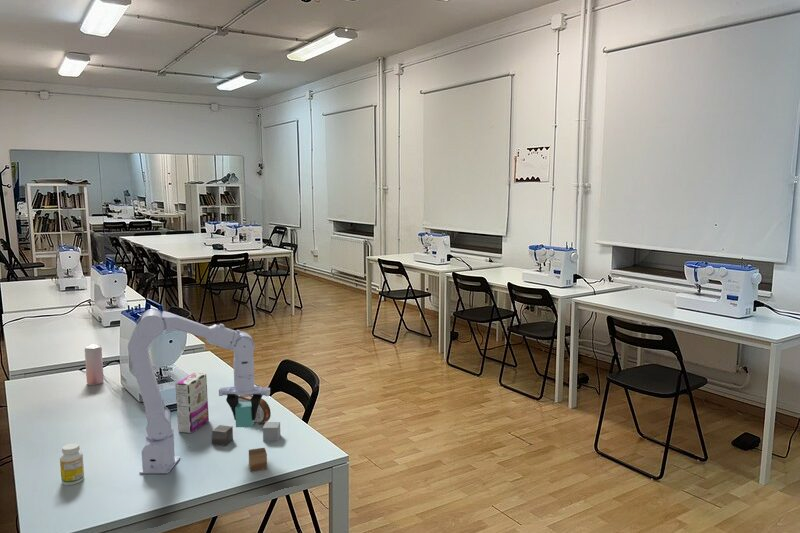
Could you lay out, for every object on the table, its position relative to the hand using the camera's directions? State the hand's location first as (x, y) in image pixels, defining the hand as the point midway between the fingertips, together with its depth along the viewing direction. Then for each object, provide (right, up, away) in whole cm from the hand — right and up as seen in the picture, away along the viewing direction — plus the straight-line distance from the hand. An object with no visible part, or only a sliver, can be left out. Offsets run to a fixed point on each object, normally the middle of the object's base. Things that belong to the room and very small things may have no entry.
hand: (245, 418), depth 174 cm
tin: (-4, -7, +25) cm, 27 cm away
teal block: (0, -2, 0) cm, 2 cm away
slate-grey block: (+5, -9, +11) cm, 16 cm away
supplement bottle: (-42, -13, -16) cm, 47 cm away
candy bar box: (-22, -8, +20) cm, 31 cm away
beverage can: (-76, -2, +61) cm, 97 cm away
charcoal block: (-9, -9, +8) cm, 16 cm away
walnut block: (+6, -12, -7) cm, 15 cm away
